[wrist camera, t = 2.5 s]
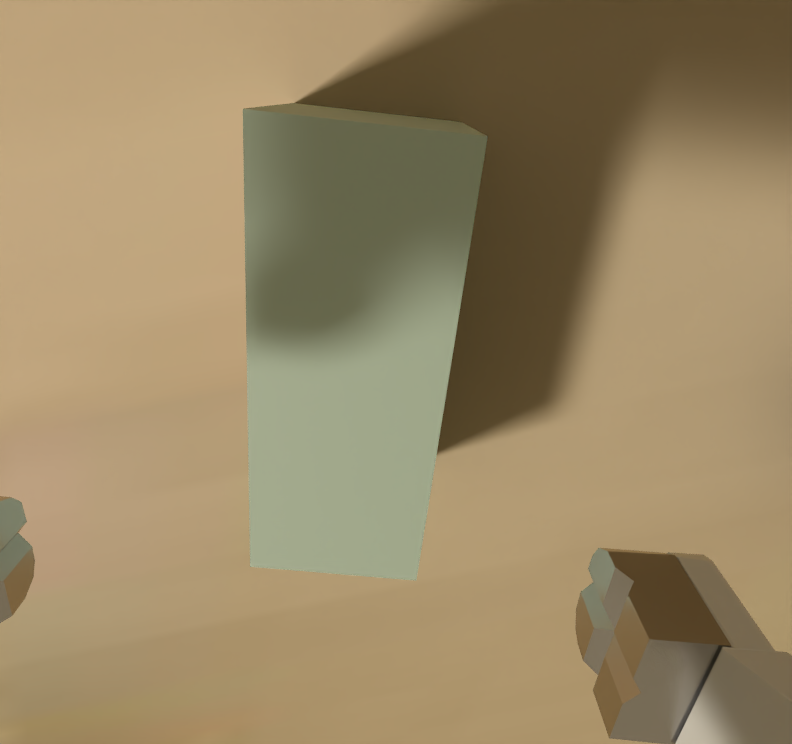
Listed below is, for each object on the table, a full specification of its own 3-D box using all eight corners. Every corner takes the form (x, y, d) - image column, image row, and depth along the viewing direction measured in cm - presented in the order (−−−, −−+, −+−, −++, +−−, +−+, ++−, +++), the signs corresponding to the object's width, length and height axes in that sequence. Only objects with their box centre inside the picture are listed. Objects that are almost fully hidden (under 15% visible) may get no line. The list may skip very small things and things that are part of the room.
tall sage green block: (295, 102, 14) (242, 108, 9) (460, 121, 14) (488, 135, 9) (288, 448, 18) (250, 566, 14) (412, 459, 18) (416, 580, 14)
